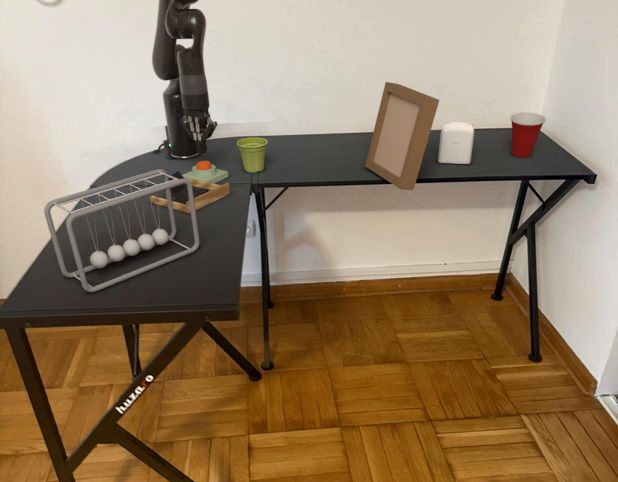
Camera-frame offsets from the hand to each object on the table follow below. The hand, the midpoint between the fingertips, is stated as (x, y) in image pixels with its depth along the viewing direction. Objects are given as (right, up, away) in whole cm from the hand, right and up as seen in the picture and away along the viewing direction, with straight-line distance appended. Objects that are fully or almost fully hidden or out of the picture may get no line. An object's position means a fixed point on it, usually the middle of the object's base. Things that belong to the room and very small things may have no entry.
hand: (202, 152), depth 177 cm
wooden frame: (-2, -15, -8) cm, 17 cm away
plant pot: (+15, -2, +11) cm, 18 cm away
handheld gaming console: (-3, -15, -7) cm, 17 cm away
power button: (0, -4, +3) cm, 5 cm away
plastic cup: (+101, +5, +18) cm, 103 cm away
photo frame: (+60, -6, +4) cm, 61 cm away
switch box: (0, -6, +5) cm, 8 cm away
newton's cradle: (-8, -39, -40) cm, 57 cm away
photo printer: (+78, +1, +13) cm, 79 cm away
